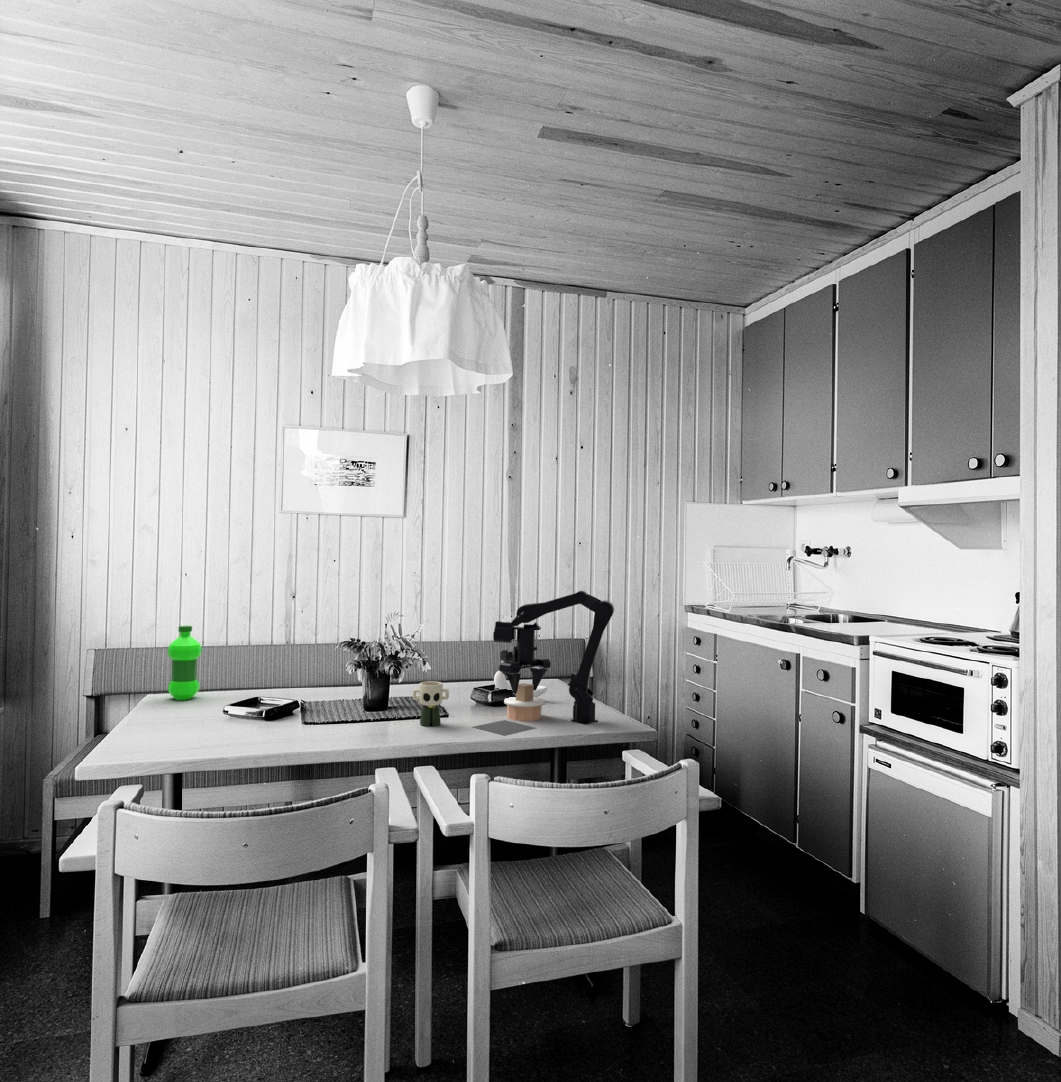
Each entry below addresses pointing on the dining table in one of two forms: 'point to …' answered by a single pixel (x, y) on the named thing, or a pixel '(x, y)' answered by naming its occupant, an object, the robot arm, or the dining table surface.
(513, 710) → the faceted tan prism
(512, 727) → the mat
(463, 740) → the dining table surface
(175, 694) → the plastic bottle
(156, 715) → the dining table surface
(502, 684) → the banana
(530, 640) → the robot arm
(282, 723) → the dining table surface
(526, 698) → the lid
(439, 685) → the character mug
